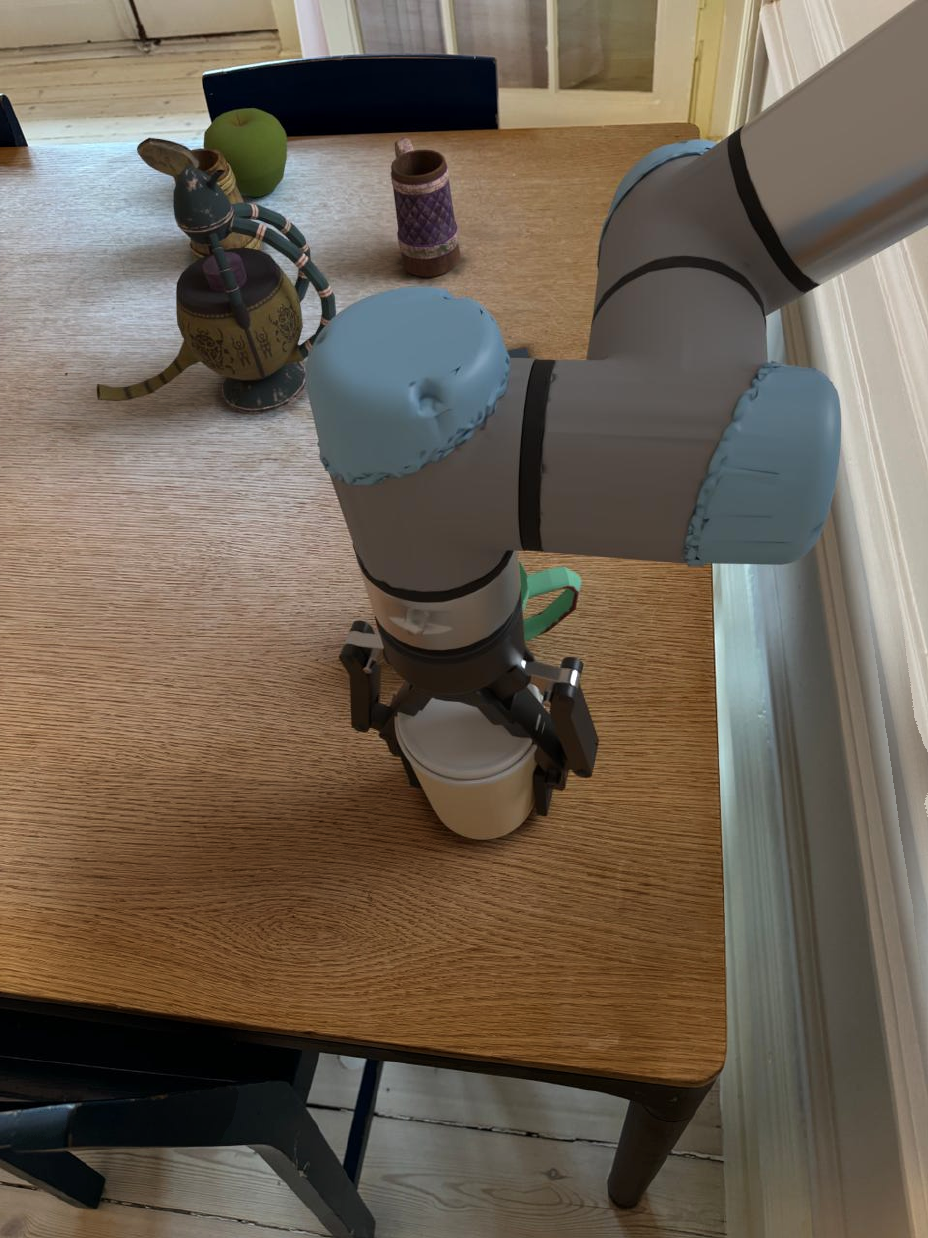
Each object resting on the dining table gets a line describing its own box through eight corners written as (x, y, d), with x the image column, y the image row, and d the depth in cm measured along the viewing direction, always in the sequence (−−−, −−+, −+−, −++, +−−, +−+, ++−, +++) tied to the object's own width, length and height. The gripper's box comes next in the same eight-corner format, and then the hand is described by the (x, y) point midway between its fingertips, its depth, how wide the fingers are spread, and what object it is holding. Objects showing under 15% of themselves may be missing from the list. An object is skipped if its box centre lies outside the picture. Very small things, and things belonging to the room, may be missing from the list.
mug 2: (440, 698, 66) (426, 640, 60) (427, 616, 71) (412, 554, 64) (591, 670, 67) (594, 608, 60) (568, 590, 71) (568, 525, 65)
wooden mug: (173, 294, 103) (107, 140, 88) (205, 231, 110) (149, 80, 96) (243, 293, 101) (188, 136, 87) (270, 229, 109) (224, 75, 94)
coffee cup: (567, 756, 62) (567, 670, 53) (518, 873, 58) (508, 802, 48) (453, 715, 65) (433, 626, 56) (397, 822, 61) (365, 746, 51)
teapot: (360, 391, 89) (305, 167, 70) (124, 469, 85) (-1, 255, 66) (329, 328, 96) (271, 108, 77) (110, 398, 92) (-8, 185, 73)
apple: (204, 200, 115) (177, 123, 107) (257, 163, 119) (235, 86, 111) (261, 219, 111) (237, 140, 102) (314, 181, 115) (295, 102, 107)
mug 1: (469, 269, 100) (458, 165, 90) (411, 285, 99) (394, 182, 89) (443, 226, 105) (430, 124, 96) (388, 241, 105) (370, 140, 95)
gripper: (224, 620, 43) (326, 800, 61) (650, 698, 38) (622, 869, 56) (281, 511, 47) (361, 711, 65) (672, 569, 42) (640, 767, 61)
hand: (482, 784), depth 61 cm, fingers closed on coffee cup, 8 cm apart
